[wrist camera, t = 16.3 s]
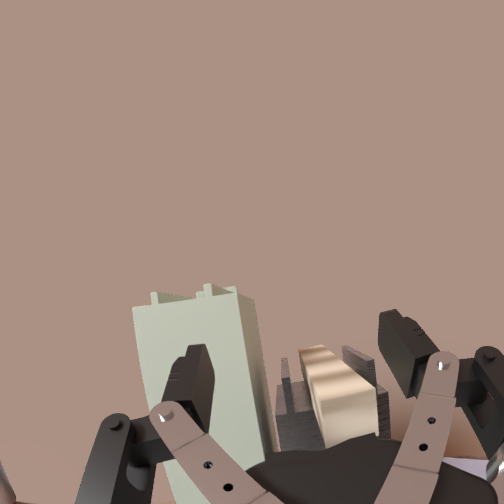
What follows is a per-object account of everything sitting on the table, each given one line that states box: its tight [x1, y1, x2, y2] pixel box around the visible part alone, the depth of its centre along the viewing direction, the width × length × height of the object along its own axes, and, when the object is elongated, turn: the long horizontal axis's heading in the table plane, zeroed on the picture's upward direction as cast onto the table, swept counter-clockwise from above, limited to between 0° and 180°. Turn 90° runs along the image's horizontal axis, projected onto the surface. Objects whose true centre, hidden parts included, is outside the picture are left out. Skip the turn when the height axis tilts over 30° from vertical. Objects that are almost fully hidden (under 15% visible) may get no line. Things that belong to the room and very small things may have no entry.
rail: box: [298, 345, 379, 448], centre depth 24 cm, size 22×3×3 cm, turn 174°
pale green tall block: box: [132, 284, 279, 504], centre depth 27 cm, size 15×9×34 cm, turn 174°
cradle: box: [275, 346, 391, 452], centre depth 23 cm, size 10×9×25 cm
